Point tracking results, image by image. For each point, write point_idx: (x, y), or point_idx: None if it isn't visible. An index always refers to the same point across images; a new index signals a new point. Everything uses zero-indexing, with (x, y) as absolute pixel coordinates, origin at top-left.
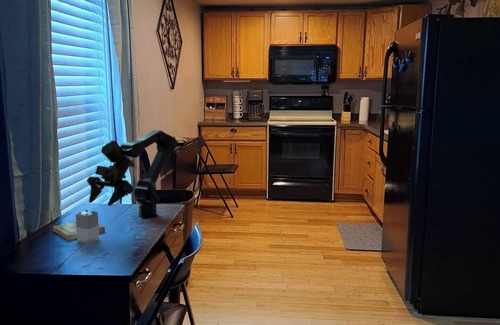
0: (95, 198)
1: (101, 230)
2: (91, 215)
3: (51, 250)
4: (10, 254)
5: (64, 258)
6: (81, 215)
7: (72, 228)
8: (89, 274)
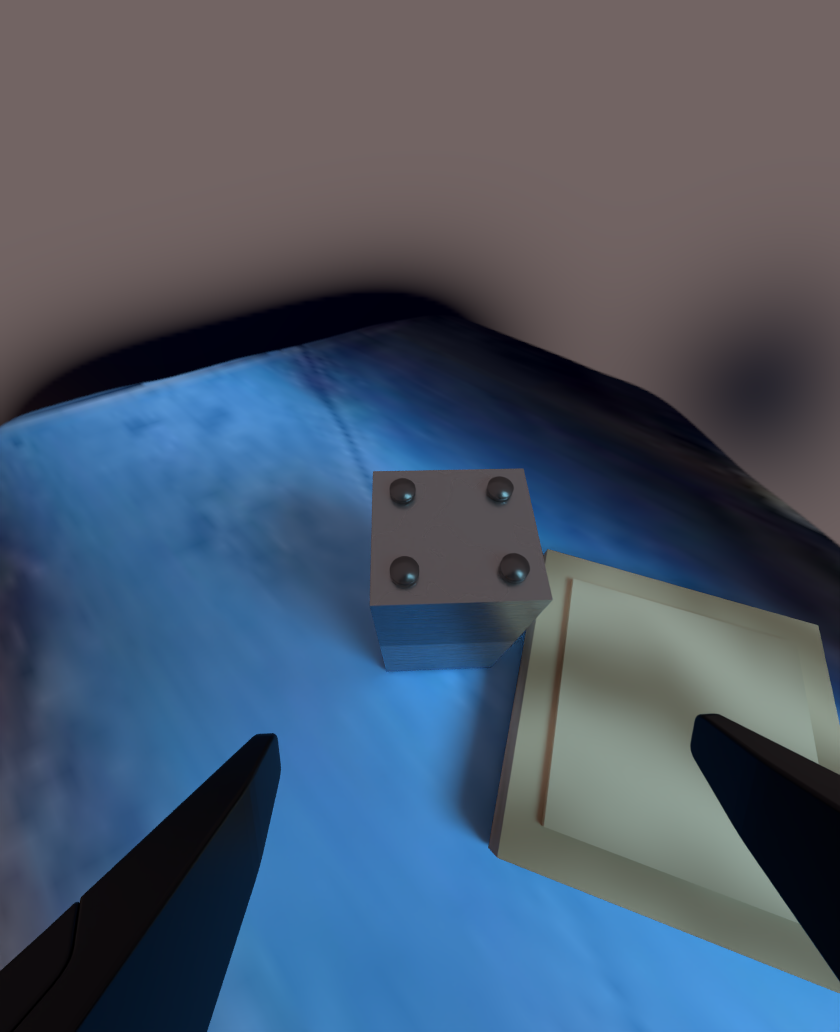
0: (797, 916)
1: (498, 811)
2: (372, 524)
3: (488, 456)
4: (583, 378)
5: (357, 428)
6: (445, 474)
7: (653, 648)
8: (156, 383)
